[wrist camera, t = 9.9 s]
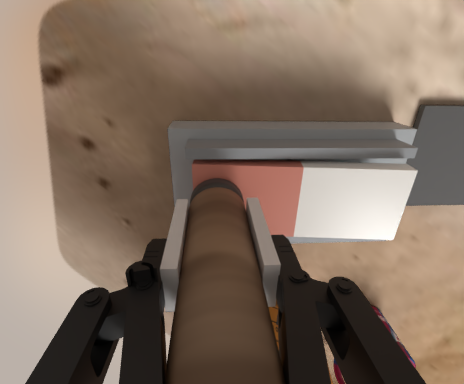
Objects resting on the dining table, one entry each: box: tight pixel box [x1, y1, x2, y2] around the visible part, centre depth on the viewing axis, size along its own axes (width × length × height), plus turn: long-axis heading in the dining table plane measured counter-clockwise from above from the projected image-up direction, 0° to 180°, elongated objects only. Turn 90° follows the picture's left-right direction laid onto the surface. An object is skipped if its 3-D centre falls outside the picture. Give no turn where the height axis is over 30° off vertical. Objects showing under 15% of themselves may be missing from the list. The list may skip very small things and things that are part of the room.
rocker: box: [192, 159, 418, 240], centre depth 21 cm, size 16×6×1 cm, turn 89°
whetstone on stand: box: [168, 121, 418, 243], centre depth 23 cm, size 10×20×6 cm, turn 89°
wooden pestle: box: [164, 178, 286, 384], centre depth 13 cm, size 4×4×15 cm
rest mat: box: [406, 105, 464, 206], centre depth 26 cm, size 10×10×1 cm
